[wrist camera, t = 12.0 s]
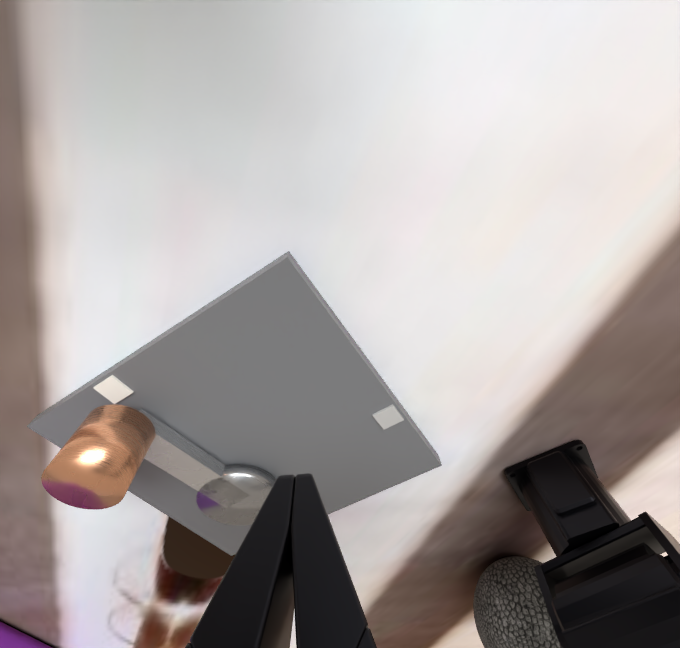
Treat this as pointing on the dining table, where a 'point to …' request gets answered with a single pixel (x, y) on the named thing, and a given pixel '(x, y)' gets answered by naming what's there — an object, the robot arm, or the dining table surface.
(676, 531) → the dining table surface
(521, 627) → the decorative ball
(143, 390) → the mount plate
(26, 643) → the shopping bag
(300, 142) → the dining table surface
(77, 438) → the crank
